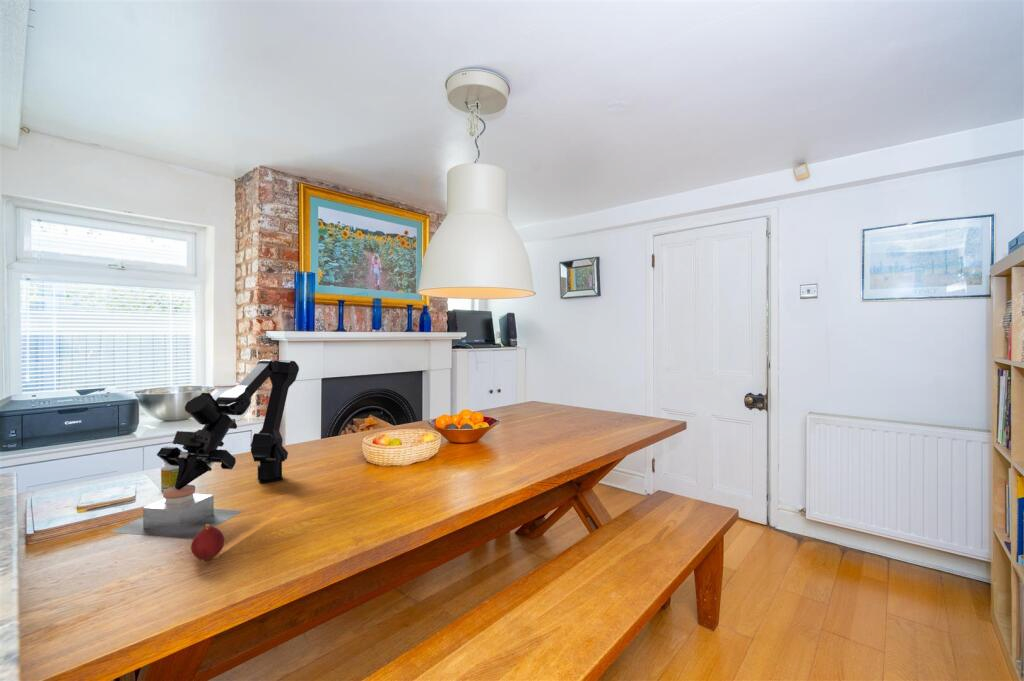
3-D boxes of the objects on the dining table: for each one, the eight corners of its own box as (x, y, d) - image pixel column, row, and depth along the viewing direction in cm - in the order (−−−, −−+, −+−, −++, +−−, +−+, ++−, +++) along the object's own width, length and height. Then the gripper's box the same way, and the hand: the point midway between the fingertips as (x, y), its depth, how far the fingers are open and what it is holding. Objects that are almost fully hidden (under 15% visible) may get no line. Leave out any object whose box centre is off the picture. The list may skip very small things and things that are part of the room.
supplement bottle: (171, 492, 134) (171, 460, 133) (156, 490, 135) (156, 458, 134) (187, 486, 139) (187, 455, 138) (173, 484, 140) (173, 453, 140)
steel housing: (179, 511, 118) (179, 492, 118) (213, 513, 116) (213, 494, 116) (143, 528, 108) (142, 507, 108) (180, 531, 107) (179, 510, 106)
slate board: (169, 508, 122) (169, 505, 122) (243, 514, 119) (243, 510, 119) (108, 535, 106) (108, 531, 106) (192, 543, 103) (192, 539, 103)
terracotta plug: (179, 509, 116) (179, 483, 116) (201, 511, 115) (201, 485, 115) (156, 520, 109) (156, 492, 109) (179, 522, 109) (179, 494, 108)
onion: (202, 554, 98) (201, 518, 98) (229, 553, 98) (229, 517, 98) (185, 568, 92) (184, 530, 92) (214, 567, 93) (214, 529, 92)
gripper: (162, 416, 117) (121, 471, 107) (227, 419, 115) (191, 475, 104) (188, 438, 125) (152, 491, 115) (249, 441, 123) (218, 496, 112)
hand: (177, 488), depth 111 cm, fingers closed, pressing on terracotta plug
